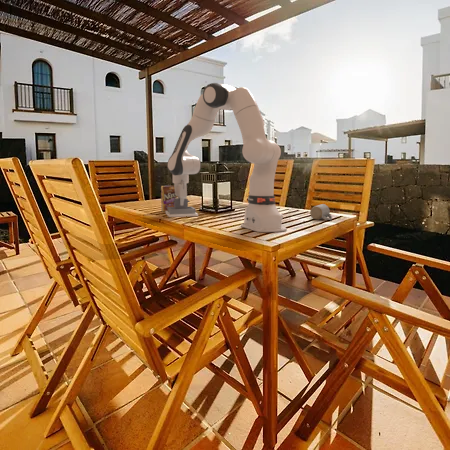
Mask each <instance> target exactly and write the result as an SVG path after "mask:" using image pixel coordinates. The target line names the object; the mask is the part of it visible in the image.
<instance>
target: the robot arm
mask: <svg viewBox="0 0 450 450" xmlns="http://www.w3.org/2000/svg"><path fill="white" fill-rule="evenodd" d="M202 92H203V93H201V94H200V95H199V97H198V100H197V102H196V105H195V107H194V110H193V113H192V116H191V119H190V120H189V122H188V123H187V124H186V125H185V126H184V127H183V129H182V130H181V132H180V133H179V134H180V135H179V137H178V139H177V142H176V144H175V147H174V148H173V152H172V153H171V155H170V156H169V159H168V161H167V164H166V166H167V170H168V171H169V172H170V173H171V174H172V184H173V186H174V188H175V195H177V198H180V205H181V206H183V205H184V198H187V197H188V191H187V190H188V189H187V188H188V185H187V184H189V182H190V181H189V180H190V178H189V177H190V176H189V175H196V174H198V173H200V170H201V168H202V162H201V160H200V158H199V157H198V156H195V155H193V154H191V153H189V151H188V150H187V149H188V147H189V145H190V144H191V143H192V141H193V140H195V139H197V138H200V137H204V136H207V135H208V134H209V133H210V132H211V131H212V129H213V127H214V124H215V120H216V117H217V114H218V112H219V111H220V110H223V111H232V112H233V115H234V118H235V120H236V123H237V126H238V127H239V130H240V133H241V138H242V145H243V146H242V150H241V152H242V156H243V158H244V159H245V160H246V161H247V162H248V163H251V164H253V169H252V172H251V175H250V176H249V184H248V185H249V186H248V187H249V192H248V193H249V194H248V196H247V204H248V205H247V206H246V207H244V217H243V219H244V220H243V223H241V224H240V227H242V228H245V229H248V230H252V231H253V232H258V233H277V232H286V231H288V229H287V227H286V226H285V225H283V223H282V220H283V218H284V215H283V214H282V213H280V211H279V209H278V208H277V206H276V197H275V195H274V193H275V192H274V191H275V190H274V189H275V188H274V187H275V177H276V171H277V167H278V163H279V160H280V158H281V153H282V149H281V147H280V145H278V144H277V142H275V141H274V140H272V139H271V140H270V139H268V138H267V136H266V131H265V121H264V119H263V115H262V113H261V111H260V108H259V105H258V103H257V101H256V99H255V97H254V95H253V94H252V93H251V91H250V90H249V89H248V88H247V87H246V86H245V87H243V86H240V87H236V86H232V85H228V84H225V83H218V82H213V83H209V84H207V85H206V86H205V87H204V88H203V91H202ZM187 199H188V198H187Z"/></svg>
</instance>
